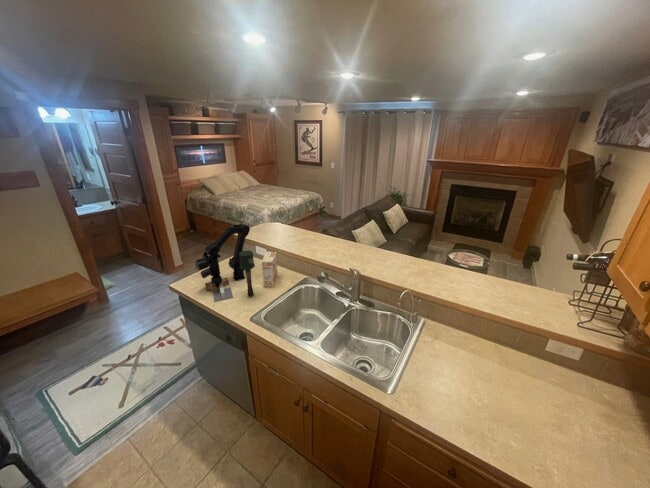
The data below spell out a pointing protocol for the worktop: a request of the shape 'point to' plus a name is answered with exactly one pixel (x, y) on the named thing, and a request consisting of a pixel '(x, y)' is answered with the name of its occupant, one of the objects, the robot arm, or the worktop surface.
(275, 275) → the coffeecake box
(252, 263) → the potato masher grenade
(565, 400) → the worktop surface
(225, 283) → the plank
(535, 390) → the worktop surface
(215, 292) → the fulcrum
